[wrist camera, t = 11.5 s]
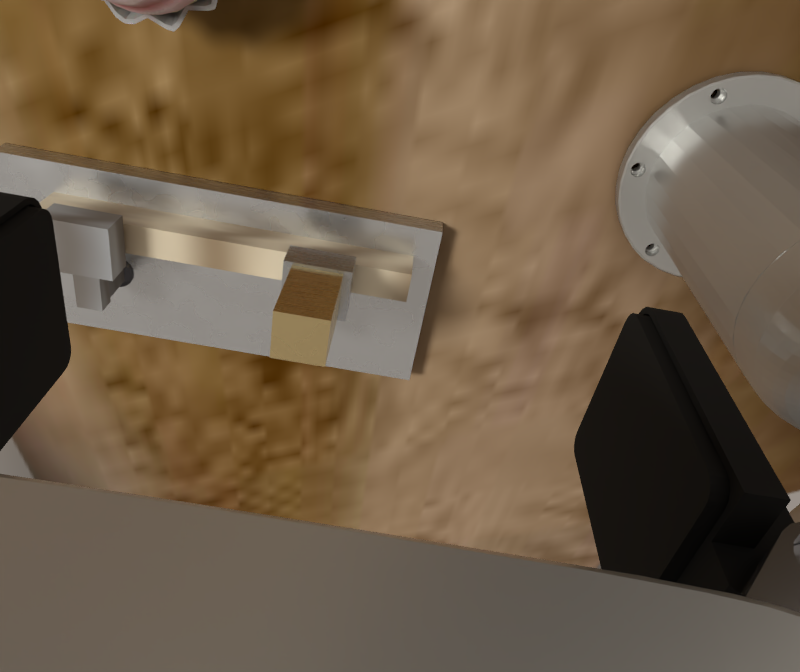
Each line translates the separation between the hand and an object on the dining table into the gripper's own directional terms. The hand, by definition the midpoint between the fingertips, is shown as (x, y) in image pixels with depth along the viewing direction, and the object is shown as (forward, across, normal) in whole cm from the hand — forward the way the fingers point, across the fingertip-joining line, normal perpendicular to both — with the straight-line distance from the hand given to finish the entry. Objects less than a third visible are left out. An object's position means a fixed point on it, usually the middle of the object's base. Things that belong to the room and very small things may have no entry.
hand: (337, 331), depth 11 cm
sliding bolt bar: (+29, +9, +15) cm, 34 cm away
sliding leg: (+28, +3, +15) cm, 32 cm away
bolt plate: (+30, +10, +17) cm, 36 cm away
